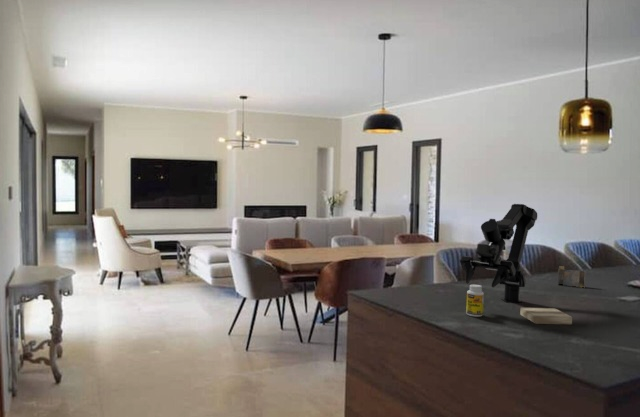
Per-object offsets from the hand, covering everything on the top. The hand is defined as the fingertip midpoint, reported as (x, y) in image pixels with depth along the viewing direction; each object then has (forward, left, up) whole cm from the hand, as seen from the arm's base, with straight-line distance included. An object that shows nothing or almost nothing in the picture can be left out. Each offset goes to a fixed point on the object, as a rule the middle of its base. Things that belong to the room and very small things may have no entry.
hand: (479, 284), depth 180 cm
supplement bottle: (+2, -2, -10) cm, 11 cm away
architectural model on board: (-65, +59, -11) cm, 88 cm away
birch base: (+4, +21, -10) cm, 24 cm away
